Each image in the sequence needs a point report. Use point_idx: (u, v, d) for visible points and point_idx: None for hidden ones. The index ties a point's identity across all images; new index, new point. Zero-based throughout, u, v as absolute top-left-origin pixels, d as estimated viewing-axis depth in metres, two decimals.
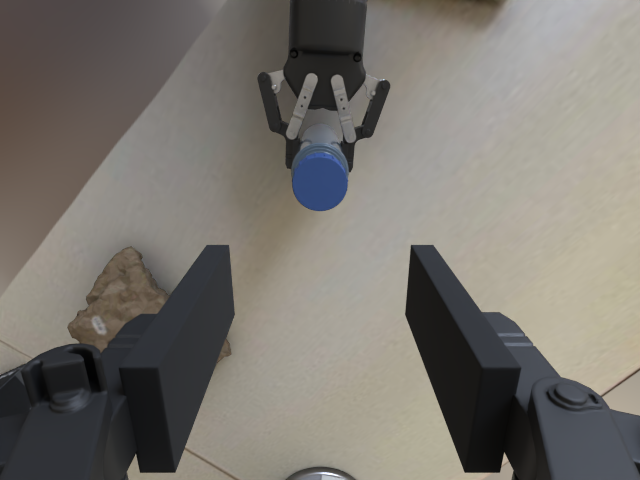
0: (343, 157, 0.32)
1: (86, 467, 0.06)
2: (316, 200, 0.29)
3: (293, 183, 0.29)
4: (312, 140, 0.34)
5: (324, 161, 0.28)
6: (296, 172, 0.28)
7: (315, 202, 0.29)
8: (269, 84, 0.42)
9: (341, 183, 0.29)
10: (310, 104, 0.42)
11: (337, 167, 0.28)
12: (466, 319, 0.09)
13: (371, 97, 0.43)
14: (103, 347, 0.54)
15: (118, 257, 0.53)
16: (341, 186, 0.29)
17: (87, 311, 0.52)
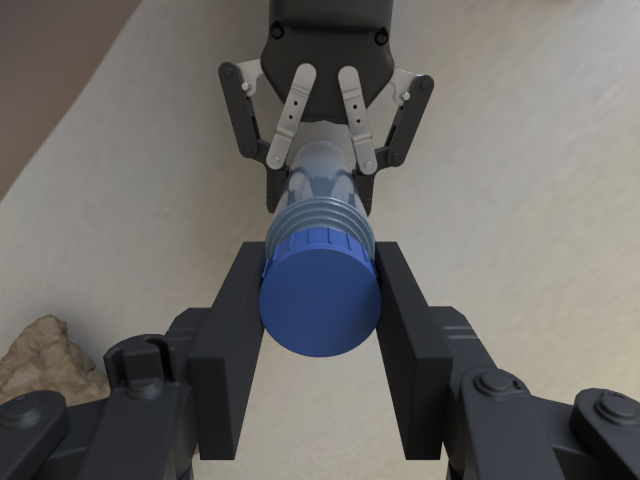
0: (366, 225, 0.16)
1: (161, 455, 0.06)
2: (312, 337, 0.13)
3: (260, 303, 0.13)
4: (306, 186, 0.18)
5: (330, 257, 0.12)
6: (266, 280, 0.12)
7: (310, 341, 0.13)
8: (238, 82, 0.26)
9: (368, 303, 0.13)
10: (304, 114, 0.26)
11: (360, 270, 0.12)
12: (411, 312, 0.10)
13: (402, 103, 0.27)
14: None
15: (30, 331, 0.37)
16: (368, 309, 0.13)
17: None
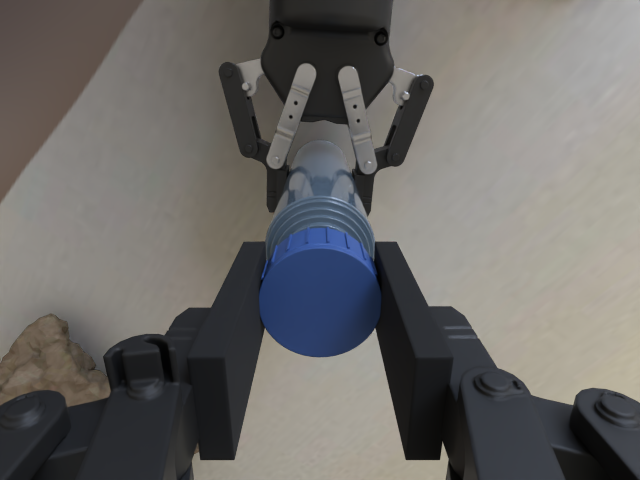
0: (366, 224, 0.17)
1: (161, 455, 0.06)
2: (356, 297, 0.13)
3: (342, 351, 0.13)
4: (306, 185, 0.18)
5: (269, 317, 0.13)
6: (318, 355, 0.13)
7: (362, 297, 0.13)
8: (238, 82, 0.26)
9: (295, 266, 0.12)
10: (304, 114, 0.27)
11: (267, 289, 0.13)
12: (411, 312, 0.10)
13: (402, 103, 0.27)
14: None
15: (31, 331, 0.37)
16: (302, 263, 0.12)
17: None
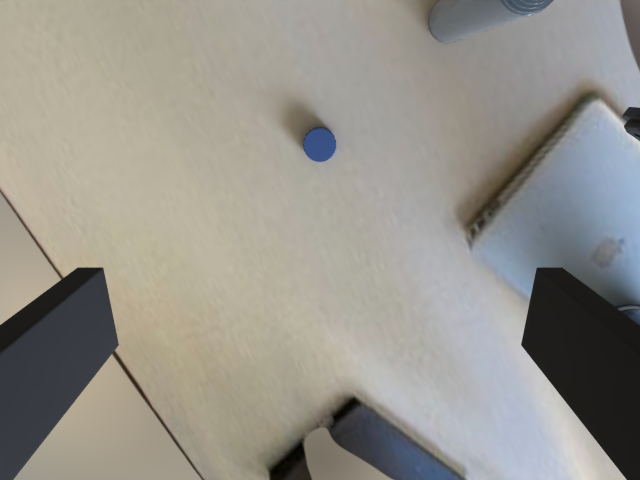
0: (529, 13, 0.29)
1: None
2: (315, 154, 0.49)
3: (304, 141, 0.49)
4: None
5: (325, 132, 0.49)
6: (308, 135, 0.49)
7: (314, 155, 0.49)
8: None
9: (332, 147, 0.49)
10: None
11: (332, 137, 0.49)
12: None
13: None
14: None
15: None
16: (331, 149, 0.49)
17: None
